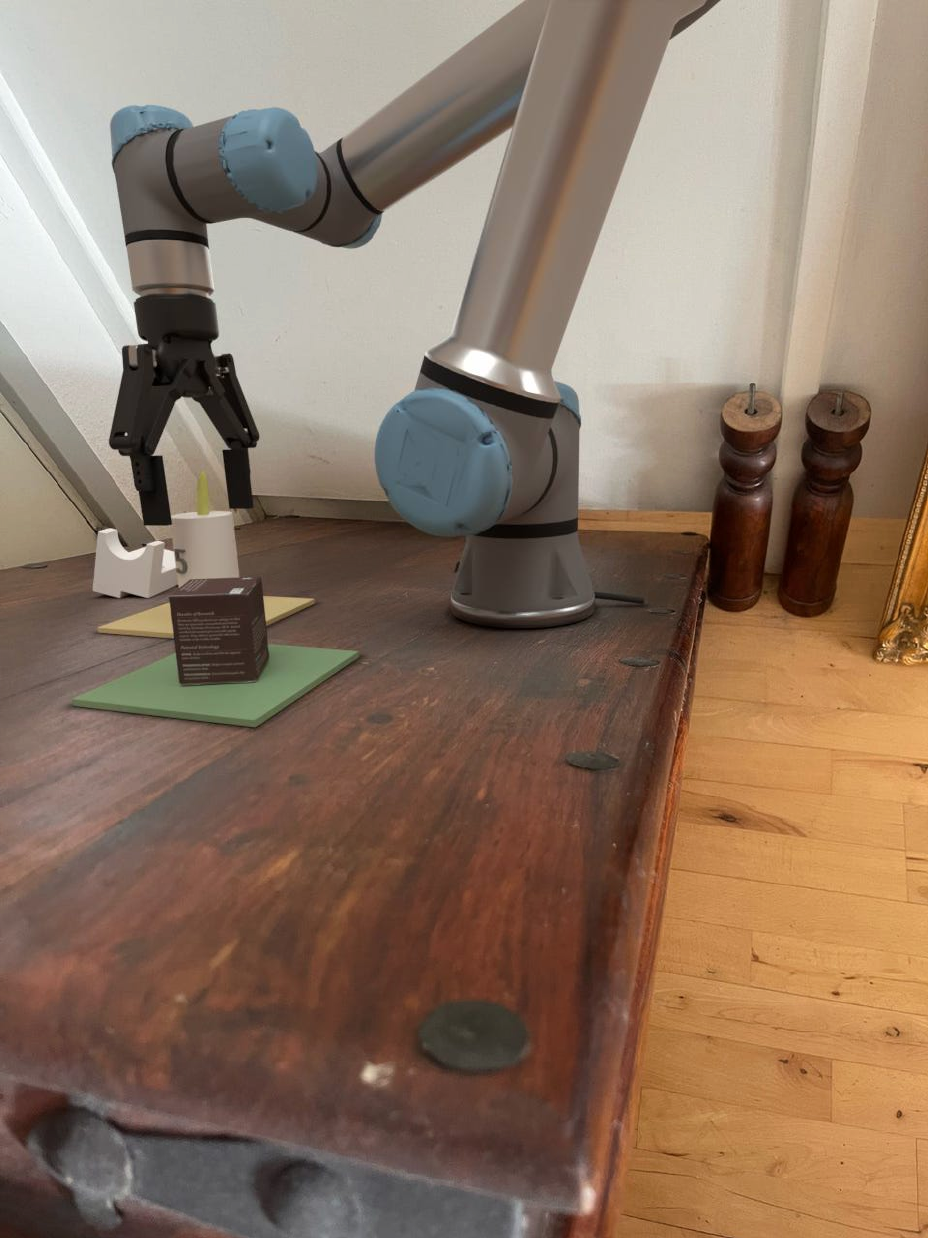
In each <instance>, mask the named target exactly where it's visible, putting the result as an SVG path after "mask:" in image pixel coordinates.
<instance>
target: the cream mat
mask: <svg viewBox="0 0 928 1238" xmlns="http://www.w3.org/2000/svg"><path fill="white" fill-rule="evenodd" d="M263 599H264V609H265V619H266V627H268V626H271V625H273V624H275V623H277V622H279V621H281V620H283V619H285V618H288V617H289V616H291V615H294V614H296V613H298V612H301V611H302V610H304V609H306V608H308V607H311V606H313V605H315V604H316V601H315V600H316V599H315V598H308V597H307V598H306V597H288V596H272V595H271V596H268V595H263ZM97 633H99V634H109V635H120V636H121V635H122V636H134V637H148V638H159V639H161V638H162V639H173V640H174V635H173V627H172V619H171V608H170V602H167V603H164V604H161V605H158V606H155V607H152V608H149V609H147V610H143V611H141V612H138V613H135V614H132V615H129V616H126V617H124V618H121V619H117V620H114V621H111V622H109V623H106V624H103V625H100V626H98V627H97Z"/></svg>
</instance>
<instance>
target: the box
mask: <svg viewBox="0 0 928 1238" xmlns="http://www.w3.org/2000/svg"><path fill="white" fill-rule="evenodd" d="M262 581H263V580H262V577H261V576H260V575H259V576H241V577H240V576H239V577H237V578H212V579H190V580H189V581H187V582H186V583H185V584H184V585H182V586H181V587H180V588H179V587H178V588H177V589H176V590H174V591H173V592H172V593H170V594H168V601H169V602H170V608H171V619H172V627H173V635H174V639H173V643H174V651H175V652H174V653H176V660H177V667H178V676H179V683H180V684H181V685H182V686H195V685H204V684H220V683H252V682H256V681H257V679H258V677H259V675H260V673H261V672H262V670H263V668H264V666H265V664H266V662H267V660H268V658H269V651H268V644H269V642H268V641H269V640H268V630H267V626H266V619H265V609H264V599H263V596H264V591H263V583H262ZM169 602H168V603H169Z"/></svg>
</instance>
